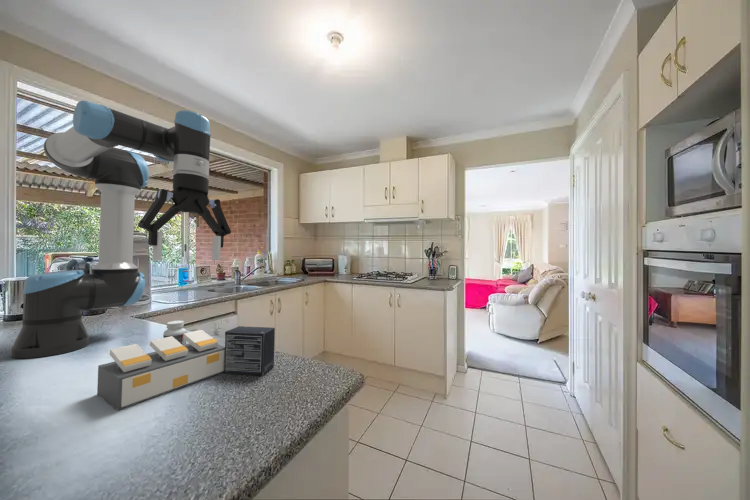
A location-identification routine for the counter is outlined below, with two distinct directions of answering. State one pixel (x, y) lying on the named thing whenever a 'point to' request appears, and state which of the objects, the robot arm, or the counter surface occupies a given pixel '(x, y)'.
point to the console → (157, 376)
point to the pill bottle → (176, 331)
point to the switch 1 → (130, 357)
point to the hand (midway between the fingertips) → (188, 260)
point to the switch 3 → (200, 340)
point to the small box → (249, 350)
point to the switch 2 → (168, 348)
